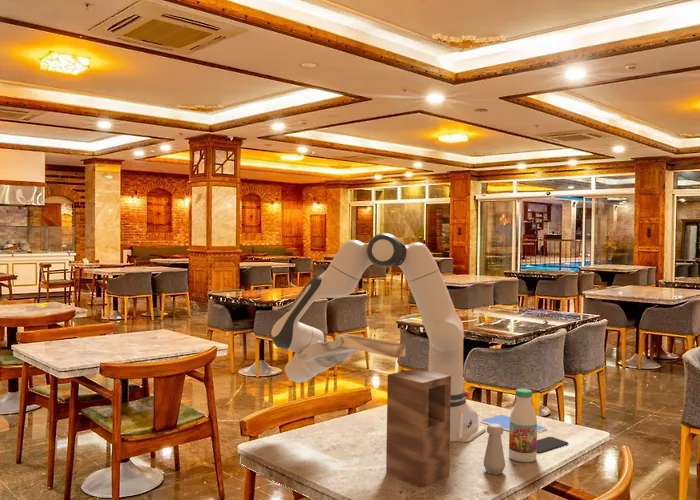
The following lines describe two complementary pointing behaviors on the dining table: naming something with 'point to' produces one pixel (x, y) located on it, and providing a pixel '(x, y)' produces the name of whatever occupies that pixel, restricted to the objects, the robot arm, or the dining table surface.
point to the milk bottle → (523, 428)
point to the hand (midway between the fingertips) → (348, 339)
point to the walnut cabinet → (418, 426)
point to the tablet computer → (505, 422)
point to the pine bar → (373, 345)
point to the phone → (549, 444)
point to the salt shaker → (494, 450)
